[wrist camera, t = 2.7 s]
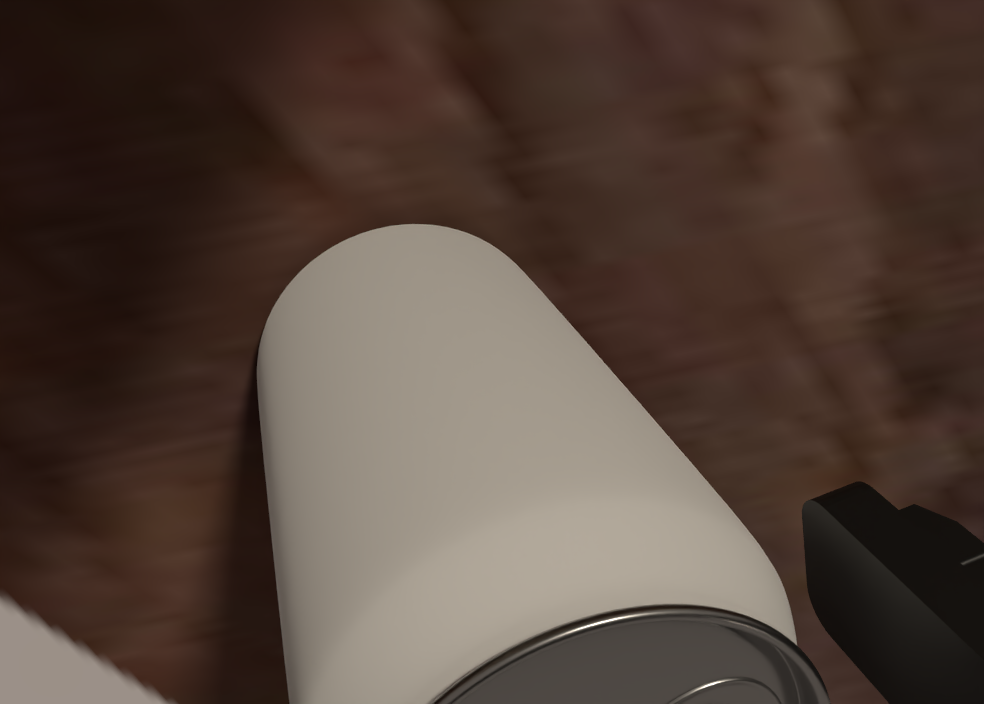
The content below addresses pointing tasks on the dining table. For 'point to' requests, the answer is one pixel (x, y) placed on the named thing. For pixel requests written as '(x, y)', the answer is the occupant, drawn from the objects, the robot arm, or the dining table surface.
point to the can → (492, 502)
